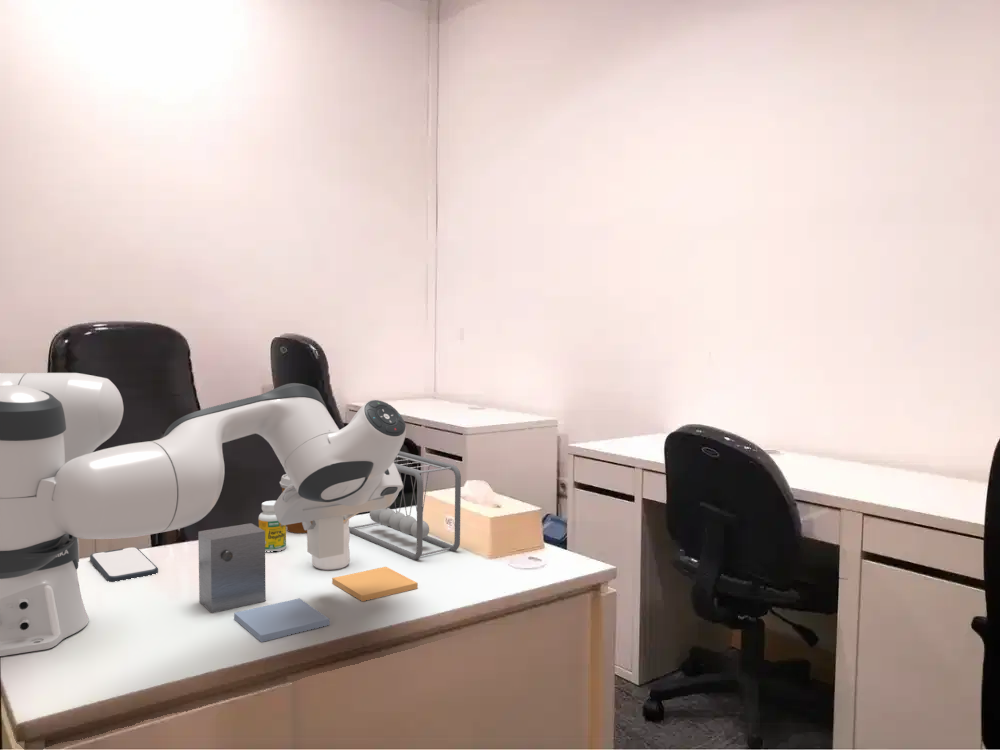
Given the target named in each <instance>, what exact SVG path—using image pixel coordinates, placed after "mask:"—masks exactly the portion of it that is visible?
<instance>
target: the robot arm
mask: <svg viewBox="0 0 1000 750" xmlns="http://www.w3.org/2000/svg"><path fill="white" fill-rule="evenodd" d="M328 410H329V409H328V407H327V405H326V403H325V401H324V400H323V397H322V395H321V393H320V391H319V390H318V389H317V388H316V387H314V386H310V385H307V384H303V383H298V382H297V383H296V382H292V383H291V382H290V383H286V384H283V385H280V386H278V387H275V388H273V389H271V390H269V391H266V392H264V393H262V394H257V395H254V396H249V397H246V398H242V399H238V400H233V401H230V402H226V403H221V404H218V405H214V406H209V407H207V408H203V409H199V410H196V411H193V412H190V413H188V414H186V415H183V416H182V417H180V418H178V419H175V421H173V422H172V423H171V424H170V425H169V426H168V427H167V428H166V430H165V431H164V435H163V437H161V438H159V439H155V440H150V441H142V442H133V443H127V444H121V445H116V446H112V447H108V448H103V449H100V450H96V449H97V448H99V447H100V446H101V445H102V444H103V443H105V442H106V441H107V440H109V439H110V438H111V437H112V436H113V435H114V434H115V433H116V432H117V430H118V429H119V427H120V425H121V423H122V420H123V417H124V402H123V397H122V395H121V393H120V391H119V389H118V388H117V386H116V385H115V384H114V383H113V382H112V381H111V380H110V379H109V378H107V377H102V376H96V375H93V374H92V375H90V374H86V373H79V372H22V373H21V372H0V657H5V656H10V655H18V654H24V653H30V652H37V651H44V650H49V649H51V648H54V647H55V646H57V645H58V644H60V643H61V641H62V640H64V639H65V638H67V637H69V636H72V635H74V634H76V633H78V632H79V631H81V630H82V629H84V628H85V627H86V626H87V625H88V624H89V616H88V614H87V611H86V607H85V604H84V602H83V601H84V600H83V598H82V592H81V588H80V582H79V578H78V577H79V576H78V569H79V562H80V543H79V542H80V541H79V539H84V540H105V539H106V540H109V539H110V540H112V539H127V538H136V537H142V536H148V535H154V534H159V533H160V534H161V533H165V532H171V531H176V530H179V529H184V528H186V527H189V526H191V525H193V524H195V523H198V522H200V521H201V520H202V519H203V518H205V517H206V516H207V515H208V514H209V513H210V512H211V511H212V509H214V507H215V505H216V504H217V502H218V500H219V498H220V495H221V492H222V489H223V485H224V480H225V469H226V468H225V461H224V453H223V444H224V443H229V442H230V441H234V440H238V439H241V438H245V437H248V436H251V435H255V434H256V435H259V436H260V437H262V438H263V439H264V440H265V441H266V442H267V443H268V444H269V445H270V447H271V448H272V450H273V451H274V454H275V455H276V457H277V459H278V460H279V462H280V464H281V465H282V468H283V470H284V472H285V474H287V475H288V477H289V479H290V481H291V482H292V484H291V485H289V486H288V487H287V488H286V489H285V490H284V491H283V492H282V491H281V494H280V495H279V496H278V498H277V499H276V500H275V501H276V502H275V504H274V511H275V514H276V517H277V520H278V522H279V523H280V524H282V525H286V526H287V525H288V524H294V523H300V522H302V525H303V527H304V530H310V529H314V527H315V525H316V523H315V521H314V520H319V519H325V518H331V517H337V516H343V515H344V524H346V522H347V521H348V519H349V520H350V519H352V518H353V517H354V516H356V515H358V514H361V513H366V512H367V513H368V512H370V511H374V510H380V509H386V508H389V506H390V507H391V506H392V505H393V504H394V503H395V502H396V499H397V498H398V495H399V494H400V492H402V488H403V484H404V482H403V481H402V476H401V477H400V472H398V470H397V468H396V466H395V464H396V463H395V462H393V461H396V459H397V457H396V456H397V455H398V453H399V451H401V448H402V446H403V445H404V442H405V439H406V436H407V435H406V433H407V426H406V421H405V420H404V419H403V417H402V415H401V414H400V413H399V412H398V410H397V409H396V408H395V407H393V405H391V404H390V403H388V402H385V401H382V400H379V399H372V400H368V401H366V402H365V403H364V404H363V405H362V406H361V407H360V408H359V409H358V410H357V411H356V413H355V414H354V415H353V417H352V418H351V420H350V421H349V423H348V424H347V425H346V426H344V427H342V428H341V429H340V428H339V426H338V425H337V424H336V422H335V420H334V419H333V417H332V415H331V414H330V412H329V411H328ZM95 450H96V451H95ZM394 463H395V464H394ZM394 501H395V502H394Z"/></svg>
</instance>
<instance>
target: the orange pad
mask: <svg viewBox="0 0 1000 750" xmlns="http://www.w3.org/2000/svg"><path fill="white" fill-rule="evenodd" d="M331 579H332V580H331V583H332V584H333V585H334V586H336V587H337V588H339V589H341V590H342V591H344V592H345V593H347V594H349V595H350V596H352V597H354V598H355V597H356V598H355V599H357V600H359V601H360V600H361V601H360V602H366V600H367V601H370V599H371V600H374V599H375V600H376V599H379V598H384V597H387V596H392V595H396V594H401V593H403V592H404V593H405V592H408V591H412V590H416V589H418V588H419V587H418V586H419V585H418V582H417V581H414V580H413V579H411V578H409V577H407V576H405V575H403V574H401V573H399V572H398V571H395V570H393V569H391V568H390V567H388V566H383V567H378V568H374V569H369V570H363V571H359V572H353V573H349V574H345V575H340V576H335V577H332V578H331Z"/></svg>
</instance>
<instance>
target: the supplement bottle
mask: <svg viewBox="0 0 1000 750" xmlns="http://www.w3.org/2000/svg"><path fill="white" fill-rule="evenodd" d="M276 501H277V500H266V501H264V502H262V503H261V510H262V512H260V514H259V515H258V527H259V528H261V529H262V530H264V531H265V551H279V552H282V551H284V550H285V549H286V548H287V525H282V524H280V523H279V522H278V520H277V517H276V514H275V511H274V504H275V502H276ZM281 550H282V551H281Z"/></svg>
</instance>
